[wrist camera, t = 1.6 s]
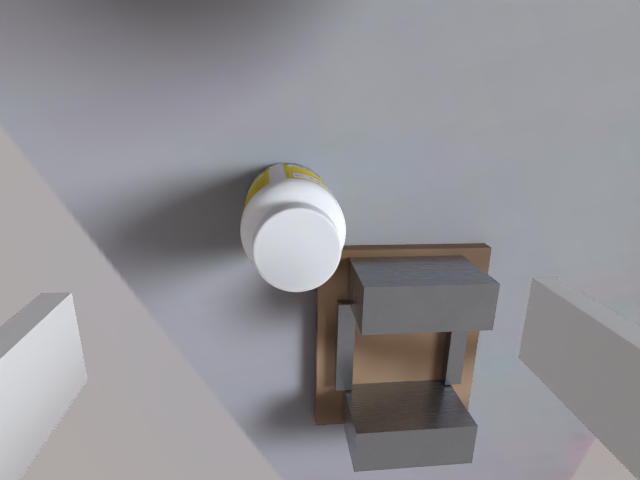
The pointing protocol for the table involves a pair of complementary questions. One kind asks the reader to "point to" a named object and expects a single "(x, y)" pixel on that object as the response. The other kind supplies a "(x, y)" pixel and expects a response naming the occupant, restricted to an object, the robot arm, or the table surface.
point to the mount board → (385, 335)
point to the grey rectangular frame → (411, 396)
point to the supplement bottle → (292, 228)
